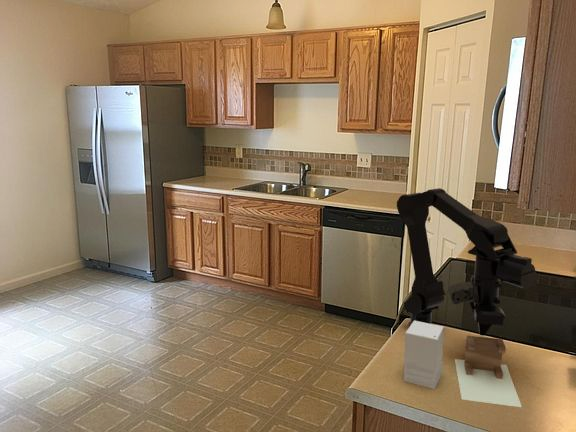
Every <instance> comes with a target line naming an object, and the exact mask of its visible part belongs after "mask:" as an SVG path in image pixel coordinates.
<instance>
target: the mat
mask: <svg viewBox="0 0 576 432" xmlns="http://www.w3.org/2000/svg"><path fill="white" fill-rule="evenodd" d="M454 362H455V363H454V365H455V368H456V374H457V379H458V386H459V392H460V397H461V400H463V401H470V402H478V403H484V404H485V403H486V404H494V405H501V406H509V407H516V408H522V403H521V401H520V398H519V396H518V393H517V390H516V387H515V385H514V382H513V380H512V377H511V374H510V372H509V369H508V365H507V364H502V363H501V369H502V372H503V379H499V378H496V376H495V373H494V371H487V370H479V369H473V375H466V372H465V367H464V362H465V359H457V358H454Z"/></svg>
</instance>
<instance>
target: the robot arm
mask: <svg viewBox="0 0 576 432" xmlns="http://www.w3.org/2000/svg"><path fill="white" fill-rule="evenodd" d="M430 207H433V208H434V209H436V210H437V211H439V212H440V213H442V214H443V215H444V216H445V217H446V218H448V219H449V220H451V221H452V222H453V223H455V224H456V226H458V227H460V228H461V229H462V230H463V231H464V232H465V234H466V236H467V238H468V240H469V241H470V242H471V243H472V244H473V245H474V246H473V247H472V248H471V249H469V250H468V251H467V254H469V255H473V256H475V262H474V272H473V273H474V274H472V276H471V277H470V278H471V279H470V281H465V282H460V283H456V284H451V285H449V286H448V292H449V296H450V299H451V302H452V304H453V305H459V304H461V303H465V302H469V301H470V302H469V306H470V308H471V311H472V314H473V315H474V320H475V323H477V326H478V327H477V328H478V333H479V335H480V336H482V337H485V336H486V334H487V333H488V332H489V330H490V329H491V327H492V326H493V325H497V326H505V325H506V320H507V319H506V318H507V316H506V315H505V312H504V310H503V309H502V308H501V307H500V306H498V305H500V304H501V300H500V297H499V292H500V289H501V288H502V282H504V283H507V284H509V285H513V286H515V287H518V288H521V289H524V290H527V289H529V288H530V287H532V285H533V284H534V282H535V280H536V277H537V271H536V267H535V266H534V264H533V263H532V262H533V260H532V258H531V257H527V256H520V255H518V251H517V248H516V247H515V245H514V244H513V241H512V239H511V238H510V236H509V232H508V227H506V226H505V225H504V224H502V223H501V222H498V221H496V220H494V219H493V218H489V217H484V216H481V215H479V214H478V213H475V212H474V211H473V210H471V209H470V208H468V207H467V206H465V205H464V204H463V203H462V202H460V201H458V200H457V199H455V198H454V197H453V196H451V195H450V194H448V193H447V192H446V190H445V189H443V188H439V187H438V188H430V189H427V190H426V191H423V192H413V193H407V194H403V195H400V196H399V198H398V199H397V200H396V208H397V212H398V215H399V219H400V220H401V221H402V222H403V223H404V225H405V226H406V229H407V235H408V241H409V247H410V253H411V258H412V264H413V266H412V267H413V271H414V281H412V282H413V283H412V286H411V297H410V298H409V299H407V300H406V301H404V302H403V307H404V310H405V311H406V312H408V313H410V321H409V322H408V328H409V327H410V326H411V324H412V323H413V321H414V320H415V321H419V322H424V323H429V324H432V319H433V318H432V317H433V316H432V315H433V311H434V310H438V309H439V307H440V305H442V303H443V302H444V299H445V296H446V292H445V290H444V282H443V281H442V280H438V279H437V277H435V275H434V270H433V269H434V268H433V264H432V259H431V257H432V256H431V252H430V246H429V244H430V243H429V240H428V234H427V232H428V231H427V228H426V224H427V220H428V217H429V214H430V211H429V210H430ZM500 247H501V248H500ZM496 248H499V249H496ZM495 249H496V250H495ZM471 300H472V301H471Z"/></svg>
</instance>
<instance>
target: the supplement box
mask: <svg viewBox="0 0 576 432" xmlns="http://www.w3.org/2000/svg"><path fill="white" fill-rule="evenodd" d="M444 333H445V326H443V325H437V324H432V323H431V324H429V323H424V322H419V321H415V320H414V321H413V323H412V324H411V326H410V327H409V326H408V328H407V329H406V331H405V333H404V334H405V335H404V337H405V338H404V360H403V361H404V363H403V381H404V382H408V383H411V384H413V385H414V384H415V385H416V386H417V385H418V386H421V387H425V388H427V389H428V388H429V389H432V390H435V389H436V386H437V385H438V383H439V381H440V378H441V376H442V369H443V368H442V367H443V349H444V335H445V334H444Z"/></svg>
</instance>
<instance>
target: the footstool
mask: <svg viewBox="0 0 576 432" xmlns="http://www.w3.org/2000/svg"><path fill="white" fill-rule="evenodd" d="M506 348H507V347H506V345H505V342H504V340H503V339H502V338H494V337H485V336H476V335H475V336H474V335H466V339H465V351H464V360H465V362H464V367H465V372H466V375H473V369H479V370H487V371H494V373H495V376H496V378H499V379H503V372H502V369H501V364H502V359H503V358H502V357H503V354H506V351H507V349H506Z"/></svg>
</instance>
